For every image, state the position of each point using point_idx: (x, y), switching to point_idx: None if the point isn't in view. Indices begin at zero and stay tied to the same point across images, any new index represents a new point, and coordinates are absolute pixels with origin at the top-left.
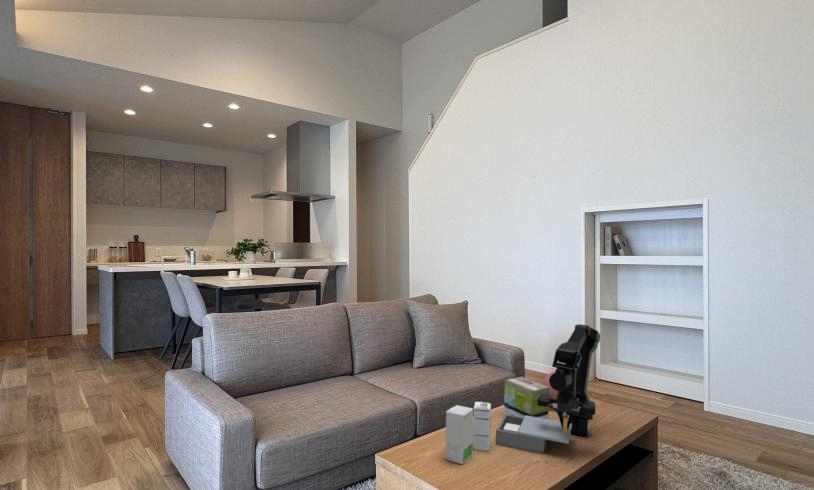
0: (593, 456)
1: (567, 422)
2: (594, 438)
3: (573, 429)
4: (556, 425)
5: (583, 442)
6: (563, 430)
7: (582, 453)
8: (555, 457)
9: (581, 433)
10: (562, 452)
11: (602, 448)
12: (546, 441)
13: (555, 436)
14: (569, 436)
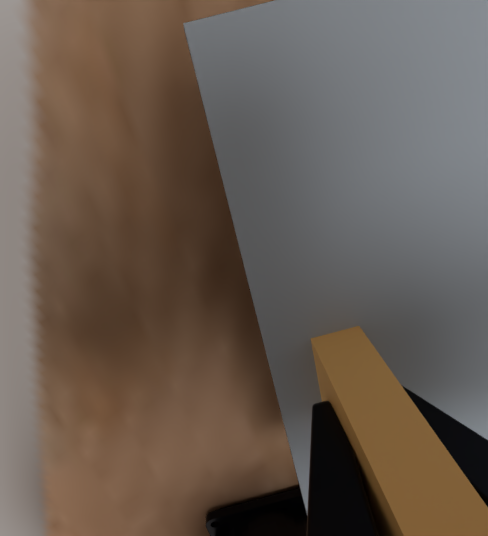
0: (38, 290)
1: None
2: (165, 526)
3: (301, 529)
4: None
5: (201, 444)
6: (365, 343)
7: (134, 281)
8: None
9: (246, 523)
10: None
11: (58, 449)
12: None
13: (445, 88)
14: (245, 256)
